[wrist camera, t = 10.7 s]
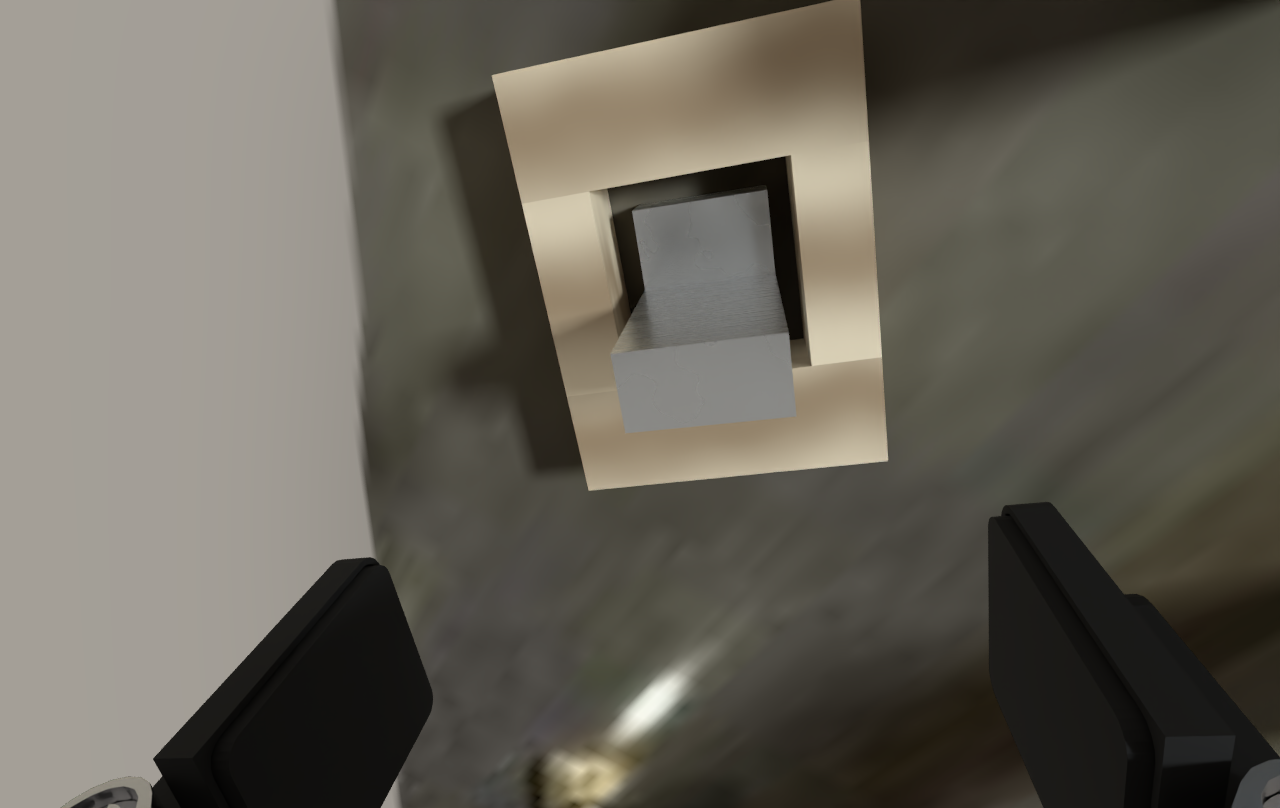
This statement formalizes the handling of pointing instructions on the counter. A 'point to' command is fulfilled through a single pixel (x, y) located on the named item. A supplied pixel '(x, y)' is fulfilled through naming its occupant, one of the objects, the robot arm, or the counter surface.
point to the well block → (692, 142)
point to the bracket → (705, 317)
